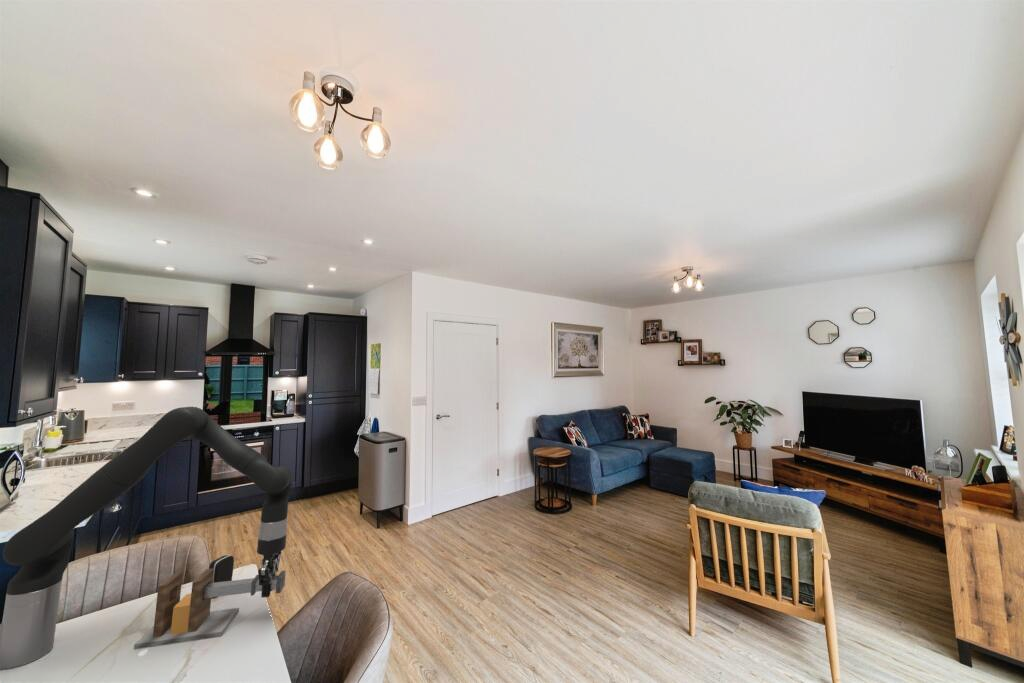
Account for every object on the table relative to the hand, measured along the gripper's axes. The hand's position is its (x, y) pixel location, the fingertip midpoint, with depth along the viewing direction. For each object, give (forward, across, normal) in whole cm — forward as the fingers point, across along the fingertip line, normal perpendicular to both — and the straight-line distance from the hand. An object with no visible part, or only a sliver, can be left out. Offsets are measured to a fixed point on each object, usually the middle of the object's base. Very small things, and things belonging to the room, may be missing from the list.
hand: (267, 593), depth 116 cm
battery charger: (+8, -20, -20) cm, 29 cm away
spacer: (+6, 0, -20) cm, 21 cm away
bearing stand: (+7, 0, -19) cm, 20 cm away
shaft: (-1, 0, -7) cm, 7 cm away
